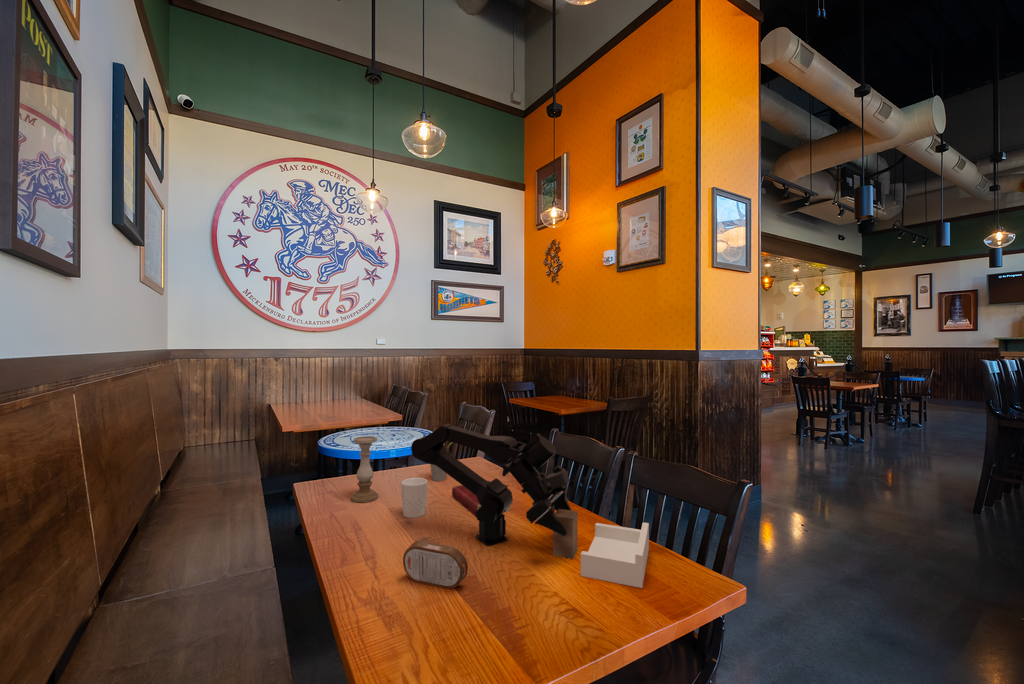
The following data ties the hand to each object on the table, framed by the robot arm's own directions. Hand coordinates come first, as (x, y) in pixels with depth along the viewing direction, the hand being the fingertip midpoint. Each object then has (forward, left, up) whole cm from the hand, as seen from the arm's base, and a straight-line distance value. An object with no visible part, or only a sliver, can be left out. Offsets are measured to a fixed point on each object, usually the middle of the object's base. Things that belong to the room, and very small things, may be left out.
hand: (570, 527), depth 111 cm
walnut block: (-1, +1, -7) cm, 7 cm away
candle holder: (-32, +68, -7) cm, 75 cm away
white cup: (-23, +46, -7) cm, 52 cm away
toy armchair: (+7, -10, -7) cm, 14 cm away
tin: (-34, +6, -7) cm, 35 cm away
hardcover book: (-1, +43, -7) cm, 43 cm away
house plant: (-3, +75, -7) cm, 75 cm away
